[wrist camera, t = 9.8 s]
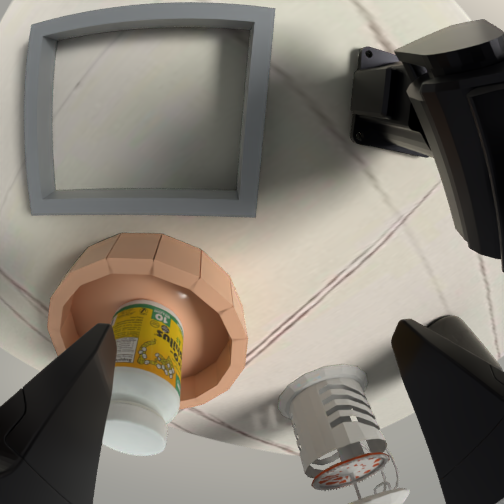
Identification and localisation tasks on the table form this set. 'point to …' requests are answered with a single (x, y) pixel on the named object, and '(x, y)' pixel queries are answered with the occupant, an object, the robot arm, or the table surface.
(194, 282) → the bowl
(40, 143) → the open rectangular frame
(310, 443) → the french press
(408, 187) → the table surface
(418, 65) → the robot arm
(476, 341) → the supplement bottle
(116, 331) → the supplement bottle
